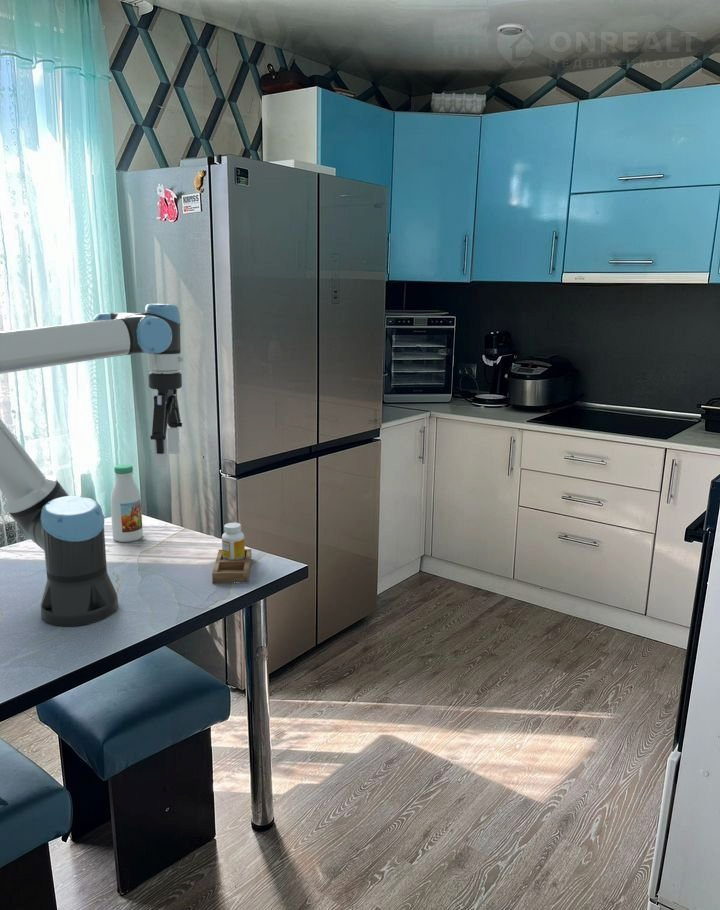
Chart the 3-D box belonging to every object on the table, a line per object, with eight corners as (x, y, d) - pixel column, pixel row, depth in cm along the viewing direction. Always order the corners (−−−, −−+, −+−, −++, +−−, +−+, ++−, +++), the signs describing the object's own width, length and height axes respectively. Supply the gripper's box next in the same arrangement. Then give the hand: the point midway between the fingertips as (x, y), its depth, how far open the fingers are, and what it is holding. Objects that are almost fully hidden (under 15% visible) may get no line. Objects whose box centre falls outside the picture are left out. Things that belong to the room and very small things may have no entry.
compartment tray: (247, 582, 167) (247, 572, 166) (212, 583, 166) (212, 573, 165) (251, 558, 181) (251, 549, 181) (219, 559, 181) (218, 549, 180)
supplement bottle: (246, 558, 180) (245, 521, 178) (243, 566, 175) (242, 528, 172) (224, 558, 180) (223, 521, 177) (221, 567, 174) (219, 528, 172)
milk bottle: (111, 543, 190) (106, 470, 185) (114, 533, 197) (109, 462, 193) (141, 541, 191) (137, 469, 187) (144, 532, 199) (139, 461, 194)
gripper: (169, 378, 156) (173, 473, 161) (190, 365, 181) (193, 448, 186) (134, 377, 156) (139, 472, 161) (160, 365, 180) (163, 448, 185)
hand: (168, 459), depth 173 cm, fingers open, 13 cm apart
